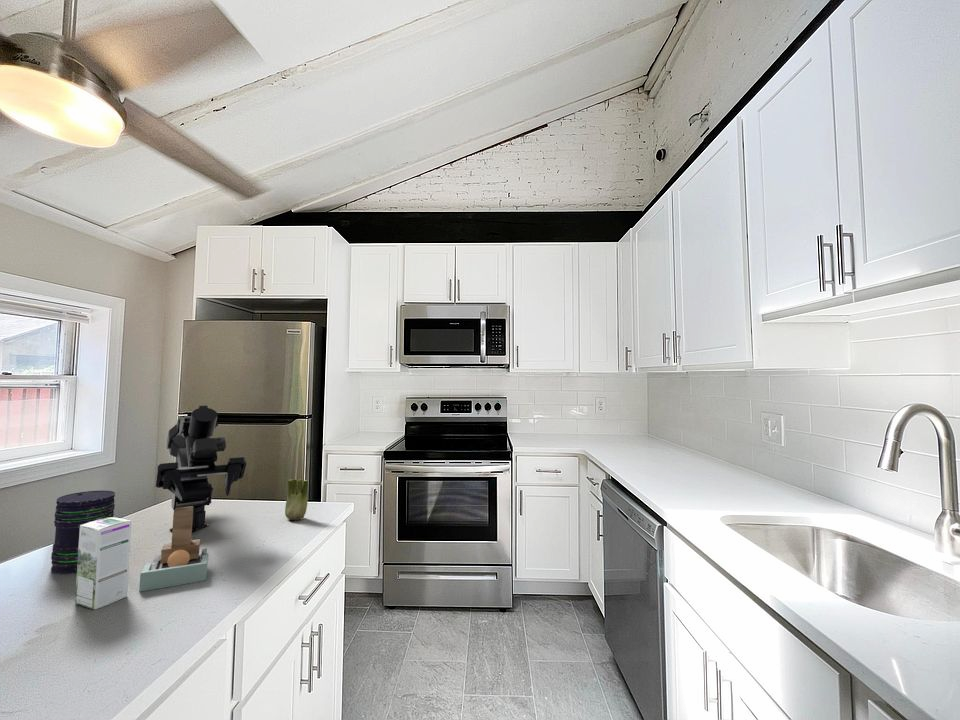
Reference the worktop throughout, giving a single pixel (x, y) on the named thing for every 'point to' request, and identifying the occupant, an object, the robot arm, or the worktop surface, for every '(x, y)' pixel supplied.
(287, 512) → the fennel bulb
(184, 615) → the worktop surface
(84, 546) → the syrup box
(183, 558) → the ball
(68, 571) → the storage jar
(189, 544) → the kicker
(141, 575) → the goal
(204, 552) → the rails
